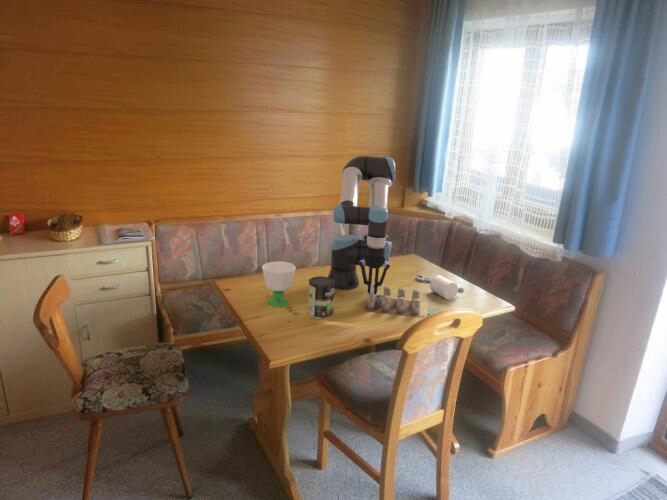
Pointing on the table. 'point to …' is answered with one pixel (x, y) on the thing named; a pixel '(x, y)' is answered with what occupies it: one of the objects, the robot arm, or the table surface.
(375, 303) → the nut
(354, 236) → the robot arm
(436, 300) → the table surface
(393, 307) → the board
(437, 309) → the pad
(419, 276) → the adjustable wrench
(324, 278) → the coffee can
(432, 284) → the mug
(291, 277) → the cup
